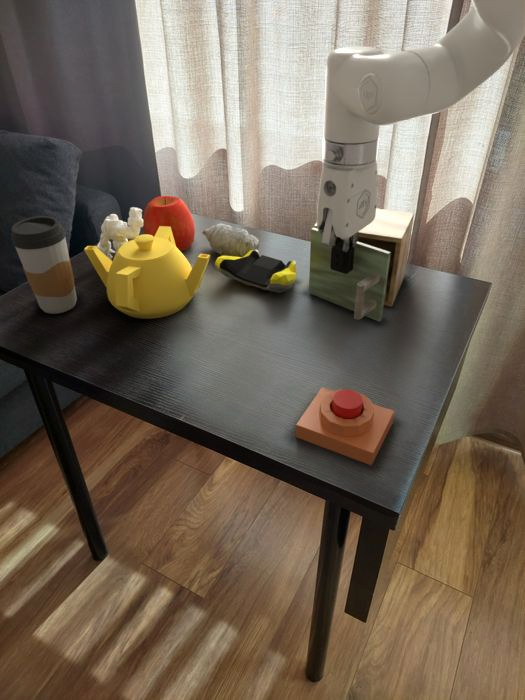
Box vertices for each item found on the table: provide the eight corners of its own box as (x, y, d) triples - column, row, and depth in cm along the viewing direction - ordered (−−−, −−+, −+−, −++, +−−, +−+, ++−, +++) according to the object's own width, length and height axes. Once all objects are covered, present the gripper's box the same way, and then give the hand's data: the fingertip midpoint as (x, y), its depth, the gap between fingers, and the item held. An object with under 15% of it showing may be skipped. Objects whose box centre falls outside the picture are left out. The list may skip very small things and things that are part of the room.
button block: (392, 423, 68) (396, 400, 65) (371, 465, 62) (375, 442, 60) (321, 399, 72) (322, 376, 69) (295, 437, 66) (296, 414, 64)
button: (365, 405, 65) (367, 394, 64) (355, 423, 63) (356, 412, 62) (338, 396, 67) (339, 385, 65) (327, 413, 64) (328, 402, 63)
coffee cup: (63, 288, 97) (41, 211, 89) (93, 301, 93) (73, 221, 85) (24, 308, 92) (-3, 228, 83) (53, 322, 88) (28, 240, 79)
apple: (135, 246, 111) (127, 197, 105) (176, 230, 117) (170, 183, 111) (166, 262, 105) (158, 211, 99) (207, 244, 111) (203, 195, 105)
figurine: (154, 263, 105) (144, 205, 98) (144, 275, 101) (134, 216, 94) (106, 259, 107) (93, 202, 99) (95, 271, 103) (81, 212, 95)
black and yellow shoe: (280, 308, 90) (309, 283, 97) (280, 280, 87) (310, 256, 94) (212, 285, 97) (243, 263, 104) (209, 258, 94) (242, 238, 101)
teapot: (126, 336, 84) (111, 270, 77) (92, 293, 96) (77, 232, 89) (217, 305, 92) (212, 242, 84) (176, 268, 103) (168, 210, 96)
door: (362, 335, 83) (370, 266, 76) (290, 304, 91) (291, 239, 84) (381, 319, 86) (391, 252, 79) (311, 291, 94) (313, 227, 87)
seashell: (215, 226, 112) (217, 198, 105) (261, 264, 108) (267, 238, 101) (193, 241, 109) (194, 214, 102) (240, 281, 106) (245, 255, 99)
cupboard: (391, 306, 90) (401, 238, 82) (311, 291, 95) (313, 225, 87) (404, 277, 98) (414, 213, 91) (329, 264, 103) (332, 202, 95)
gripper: (345, 169, 66) (337, 296, 76) (399, 142, 75) (385, 258, 86) (296, 159, 69) (294, 282, 80) (353, 134, 79) (345, 247, 90)
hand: (341, 269), depth 83 cm, fingers closed
